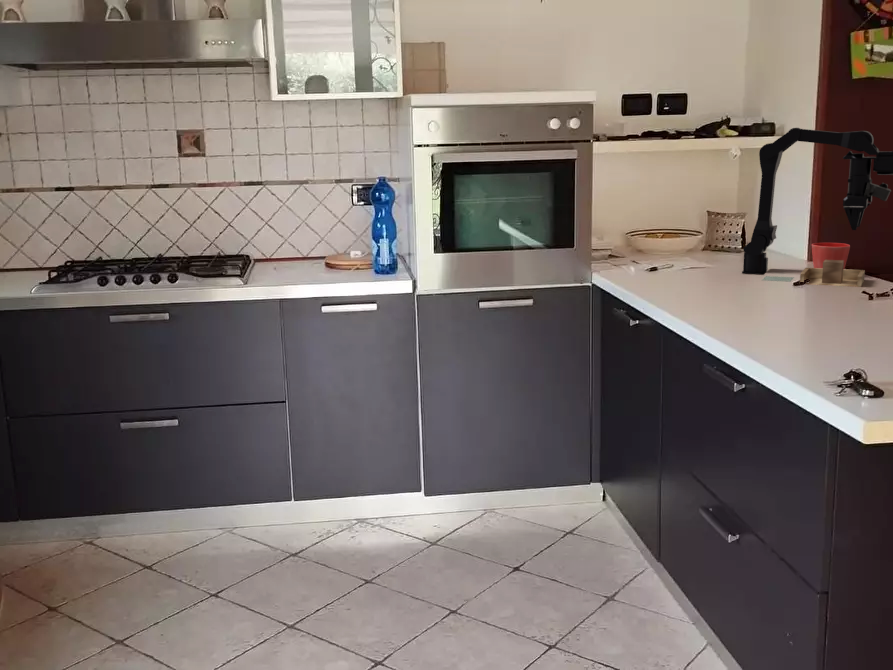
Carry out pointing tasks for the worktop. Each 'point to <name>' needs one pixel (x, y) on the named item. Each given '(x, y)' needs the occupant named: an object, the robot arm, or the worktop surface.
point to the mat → (777, 278)
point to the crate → (849, 279)
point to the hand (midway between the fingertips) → (855, 228)
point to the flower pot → (829, 253)
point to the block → (832, 271)
